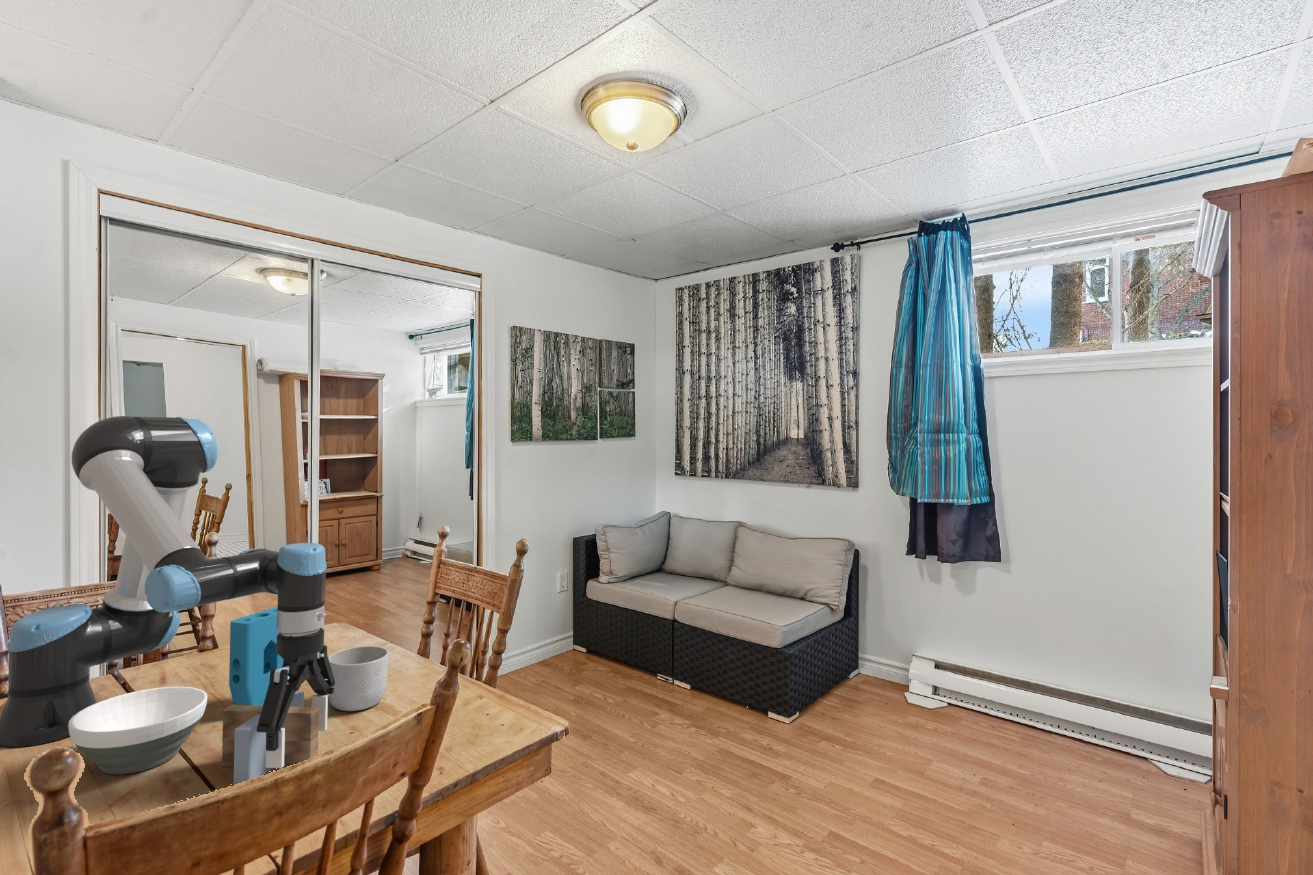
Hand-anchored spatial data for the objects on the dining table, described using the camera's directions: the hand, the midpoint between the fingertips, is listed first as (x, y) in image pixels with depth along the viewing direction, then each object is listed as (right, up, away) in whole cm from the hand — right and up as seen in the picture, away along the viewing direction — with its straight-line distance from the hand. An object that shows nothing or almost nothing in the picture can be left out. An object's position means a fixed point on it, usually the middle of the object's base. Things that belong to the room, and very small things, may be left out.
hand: (298, 747), depth 114 cm
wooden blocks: (-5, -3, 0) cm, 6 cm away
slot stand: (-5, -3, 0) cm, 6 cm away
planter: (-2, -3, +26) cm, 26 cm away
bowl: (-29, -3, +1) cm, 29 cm away
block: (-22, -3, +23) cm, 32 cm away
